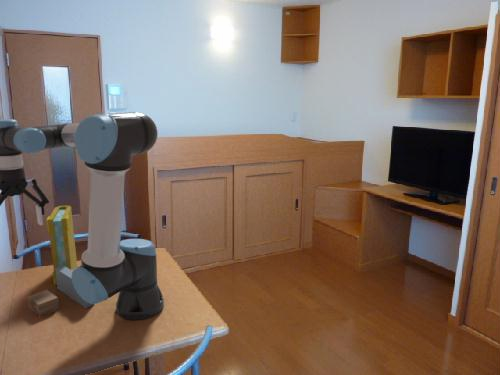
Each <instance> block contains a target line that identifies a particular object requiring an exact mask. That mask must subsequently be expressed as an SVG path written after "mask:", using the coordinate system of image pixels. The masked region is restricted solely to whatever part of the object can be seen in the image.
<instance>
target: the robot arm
mask: <svg viewBox="0 0 500 375" xmlns="http://www.w3.org/2000/svg"><path fill="white" fill-rule="evenodd" d="M158 133H159V132H158V129H157V125H156V123H155V121H154V120H153V119H152V118H151V117H150V116H148V115H147V114H145V113H142V112H136V111H129V112H115V113H114V112H111V113H103V112H102V113H99V114H94V115H93V114H92V115H88V116H86V117H84V118H83V120H81V121H80V123H79V122H78V123H77V122H76V123H62V124H52V125H37V126H27V127H26V126H25V127H23V126H22V127H21V126H20V125H19V123H18V121H17V120H16V119H13V118H11V119H10V118H8V119H7V118H5V119H4V118H3V119H0V207H1V206H2V204H3V203H4V201H5V200H6V199H7V198H8V197H14V196H21V195H22V194H24V195H25V197H27V198H28V199H30V200H31V201H33V203H35V204H36V205H35V213H36V220H37V224H38V225H40V226H43V225H44V220H43V216H44V215H45V206H46V204H49V203H50V200H49V199H48V197H46V195H45V194H44V192H43V191H42V190H41V188H40V187H39V186H38V183H37V180H36V179H34V178H30V179H26V174H25V168H24V159H23V153H26V154H36V153H40V152H41V151H43V150H44V151H45V150H51V149H57V148H72V147H75V149H76V150H77V152H76V153H77V155H78V157H79V158H80V159H81V160H82V162H84V166H85V167H86V168H87V169H88V170H89V171H90V173H89V174H90V176H89V179H90V180H89V199H88V200H89V201H88V202H89V204H88V226H87V228H88V229H87V230H88V231H87V249H85V250H84V251H83V252H82V253H81V260H80V262H81V264H80V266H77V267H76V268H75V269H74V270H73V272H72V283H73V286H74V288H75V290H76V291H77V293H78V294H79V296H80V297H81V298H82V299H83V300H85V301H86V302H88V303H91V304H94V305H95V304H98V303H101V302H102V303H103V301H106V300H107V301H108V299H110V298H112V297H113V296H115V295H118V296H117V299H116V300H117V301H116V303H115V309H116V314H117V315H118V316H119V317H120V318H122V319H125V320H129V321H139V320H145V319H150V318H151V317H154V316H156V315H157V314H159V313H160V312H161V311H162V310H163V309H164V306H165V302H164V301H165V300H164V296H163V293H162V291H161V289H160V286H159V284H158V269H157V268H158V266H157V264H158V263H157V252H156V244H154V243H153V242H152V240H148V239H145V238H144V239H143V238H127V239H122V238H121V237H122V220H123V205H124V193H125V192H124V190H125V177H126V176H125V175H126V173H127V172H128V171H129V170H130V169H131V168H132V161H133V156H138V155H142V154H145V153H147V152H148V151H150V150H152V148H153V147H154V146H155V144H156V143H157V139H158ZM28 185H29V186H31V188H32V189H33V190H34V192H35V193H36V195H37V196H38V197H39V199H38V198H37V197H36V196H35V195H34V194H32V193H31V192H30V191H28V190H27V189H26V188H27V186H28ZM121 239H122V240H121Z"/></svg>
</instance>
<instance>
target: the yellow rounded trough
mask: <svg viewBox="0 0 500 375" xmlns="http://www.w3.org/2000/svg"><path fill="white" fill-rule="evenodd" d="M45 221H46V227H47V233H48V234H49V243H50V249H51V250H50V251H51V256H52V257H51V258H52V265H53V271H52V275H53V276H52V277H53V285H55V286H57V280H56V272H55V268H57V267H60V266H63V265H64V266H65V267H67V268H69V269H70V270H72V271H73V270H74V269H75V268H76V267H78V261H77V251H76V244H75V242H76V241H75V232H74V223H73V213H72V206H71V205H58V206H56V207H54V208H53V211H52V212H51V214H50V215H49V216H48V217H47V218H46V219H45Z"/></svg>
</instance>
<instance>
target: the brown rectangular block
mask: <svg viewBox="0 0 500 375" xmlns="http://www.w3.org/2000/svg"><path fill="white" fill-rule="evenodd" d="M27 302H28V308H29V309H30V310H31V311H32V312H33V313H34V314H36V315H37V316H38V317H39V318H41V317H44V316H46V315H49V314H52V313H54V312H56V311H58V310H60V305H59V298H58V296H56V295H55V294H53V292H51V291H49V290H48V289H44V290H42V291H38V292H36V293H34V294H33V293H32V294H30V295H28V296H27Z"/></svg>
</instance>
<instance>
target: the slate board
mask: <svg viewBox="0 0 500 375" xmlns="http://www.w3.org/2000/svg"><path fill="white" fill-rule="evenodd" d="M55 272H56V280H57V285H56V287H57V290H59V291H60V292H62V293H63V294H65V295H66V296H68V297H69V298H70V299H72V300H73V301H75V302H76V303H78V304H79V305H81V306H82V307H84V308H85V309H87V308H90V307H92V306H95V304H91V303H88V302H86V301H85V300H83V299H82V298H81V297H80V296H79V294H78V293H77V291H76V290H75V288H74V286H73V283H72V272H73V271H72V270H70V269H69V268H67V267H65V266H64V265H63V266H60V267H57V268H55Z"/></svg>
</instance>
